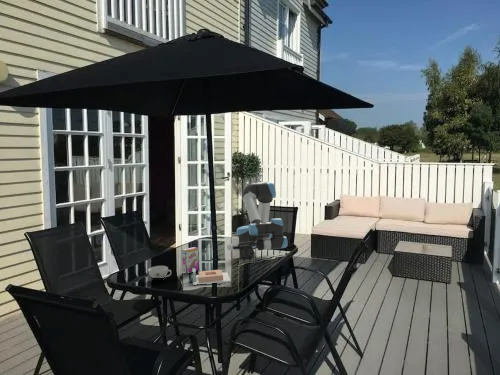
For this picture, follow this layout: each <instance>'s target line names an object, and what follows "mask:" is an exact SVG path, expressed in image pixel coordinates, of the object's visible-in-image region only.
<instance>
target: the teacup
mask: <svg viewBox="0 0 500 375" xmlns="http://www.w3.org/2000/svg"><path fill="white" fill-rule="evenodd" d="M147 271H148V274H149V276H150V278H151V277H152V278H164V277H165V278H167V277H170V276H171V275H172V270H171V269H169V266H166V265H155V266H152V267H149V268H148V269H147ZM168 272H170V273H169V274H168ZM152 278H151V279H152ZM165 278H164V279H165Z"/></svg>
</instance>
